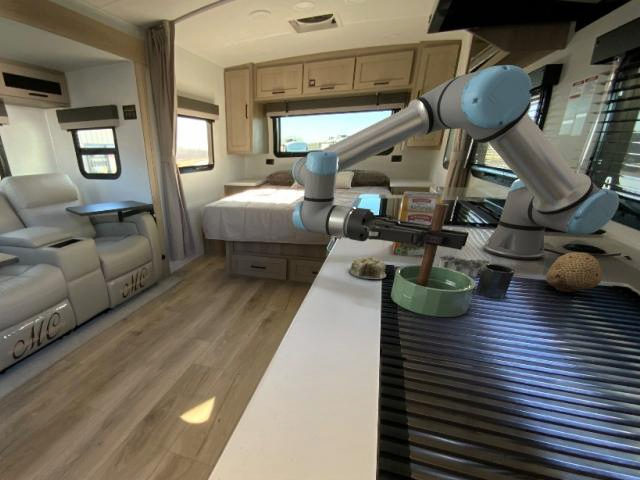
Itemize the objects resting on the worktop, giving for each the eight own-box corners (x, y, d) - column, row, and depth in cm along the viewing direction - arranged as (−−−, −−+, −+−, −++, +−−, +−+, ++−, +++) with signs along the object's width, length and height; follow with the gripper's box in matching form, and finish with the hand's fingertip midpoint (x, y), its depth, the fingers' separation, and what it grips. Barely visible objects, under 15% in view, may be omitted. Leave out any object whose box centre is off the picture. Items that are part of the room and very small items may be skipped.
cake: (344, 269, 97) (346, 251, 95) (378, 270, 97) (381, 252, 95) (354, 279, 88) (357, 260, 86) (392, 280, 88) (396, 260, 86)
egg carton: (487, 275, 91) (492, 261, 89) (470, 280, 88) (475, 265, 86) (450, 263, 99) (453, 250, 97) (433, 267, 96) (437, 254, 94)
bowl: (449, 290, 82) (456, 266, 79) (480, 321, 68) (491, 293, 65) (383, 287, 84) (388, 263, 81) (401, 317, 70) (407, 289, 67)
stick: (422, 293, 75) (445, 203, 66) (426, 297, 73) (450, 205, 64) (412, 292, 76) (434, 203, 67) (415, 296, 74) (438, 205, 65)
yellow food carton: (392, 254, 108) (404, 193, 100) (392, 245, 117) (403, 189, 108) (429, 257, 104) (444, 195, 96) (425, 248, 113) (440, 190, 105)
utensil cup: (495, 291, 81) (505, 264, 78) (509, 301, 76) (520, 273, 73) (470, 290, 82) (478, 263, 79) (482, 300, 77) (491, 272, 74)
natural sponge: (601, 297, 77) (622, 257, 73) (574, 303, 75) (594, 261, 71) (558, 283, 85) (574, 245, 81) (532, 287, 83) (548, 249, 79)
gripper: (363, 232, 86) (468, 250, 72) (335, 245, 76) (449, 269, 62) (368, 203, 83) (478, 215, 68) (339, 212, 73) (461, 229, 58)
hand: (464, 241), depth 65 cm, fingers closed on stick, 2 cm apart
